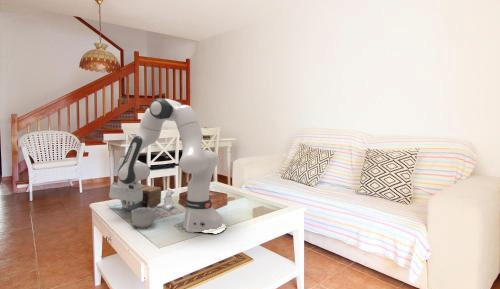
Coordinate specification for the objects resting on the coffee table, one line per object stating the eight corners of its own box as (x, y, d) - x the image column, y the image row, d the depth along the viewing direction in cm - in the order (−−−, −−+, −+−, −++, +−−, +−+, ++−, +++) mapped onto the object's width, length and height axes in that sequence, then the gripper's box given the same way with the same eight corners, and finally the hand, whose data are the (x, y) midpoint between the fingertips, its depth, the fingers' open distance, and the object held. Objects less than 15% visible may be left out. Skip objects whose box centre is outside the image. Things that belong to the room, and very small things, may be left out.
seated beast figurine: (156, 207, 174) (157, 188, 173) (167, 204, 181) (168, 186, 180) (166, 210, 169) (167, 190, 168) (177, 208, 176) (178, 188, 175)
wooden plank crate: (160, 203, 182) (161, 187, 181) (148, 208, 171) (149, 191, 170) (136, 200, 187) (137, 184, 186) (123, 204, 176) (124, 187, 175)
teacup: (146, 231, 137) (147, 214, 136) (126, 227, 139) (126, 211, 138) (161, 221, 150) (161, 206, 150) (142, 219, 152) (143, 204, 152)
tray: (130, 211, 164) (131, 204, 164) (121, 209, 166) (122, 203, 166) (143, 205, 176) (144, 199, 176) (135, 204, 177) (135, 198, 177)
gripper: (107, 182, 163) (106, 206, 164) (137, 187, 157) (136, 211, 158) (115, 180, 169) (114, 203, 170) (144, 185, 164) (143, 208, 164)
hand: (125, 207), depth 164 cm, fingers closed, pressing on tray
